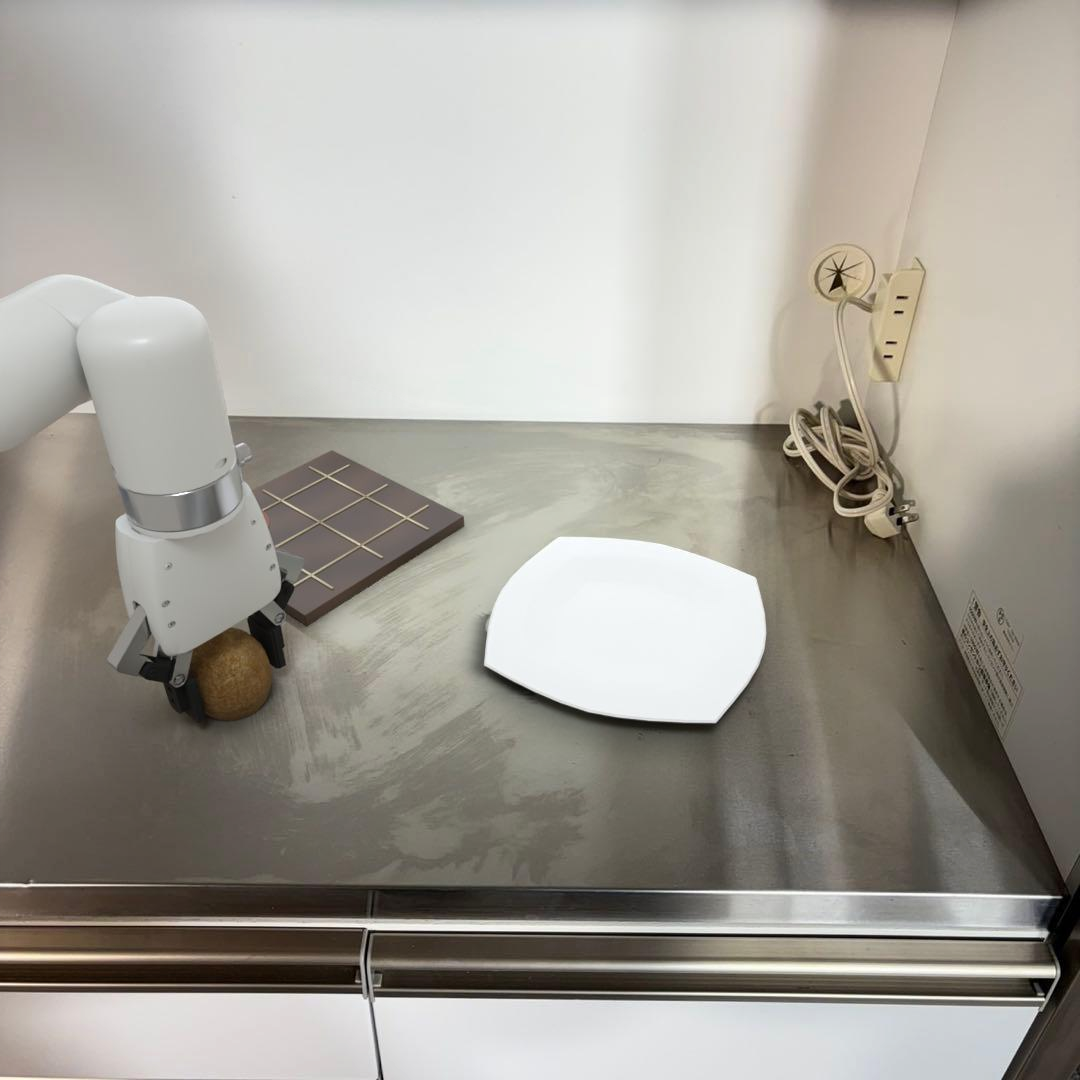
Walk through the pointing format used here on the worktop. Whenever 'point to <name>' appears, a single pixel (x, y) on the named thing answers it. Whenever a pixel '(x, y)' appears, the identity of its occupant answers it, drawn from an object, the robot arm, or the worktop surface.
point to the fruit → (231, 674)
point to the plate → (628, 630)
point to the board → (346, 528)
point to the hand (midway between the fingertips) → (231, 683)
